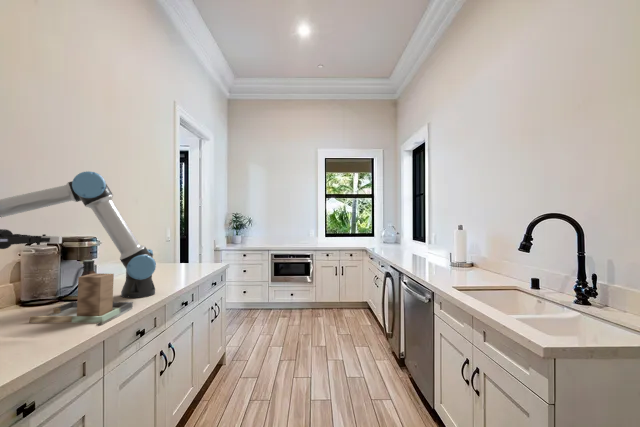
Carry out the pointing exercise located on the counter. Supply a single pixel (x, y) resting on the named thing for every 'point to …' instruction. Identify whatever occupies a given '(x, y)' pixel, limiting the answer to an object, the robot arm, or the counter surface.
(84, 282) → the walnut block
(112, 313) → the bay end wall
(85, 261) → the sauce bottle
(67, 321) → the grey flat tray
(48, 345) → the counter surface
